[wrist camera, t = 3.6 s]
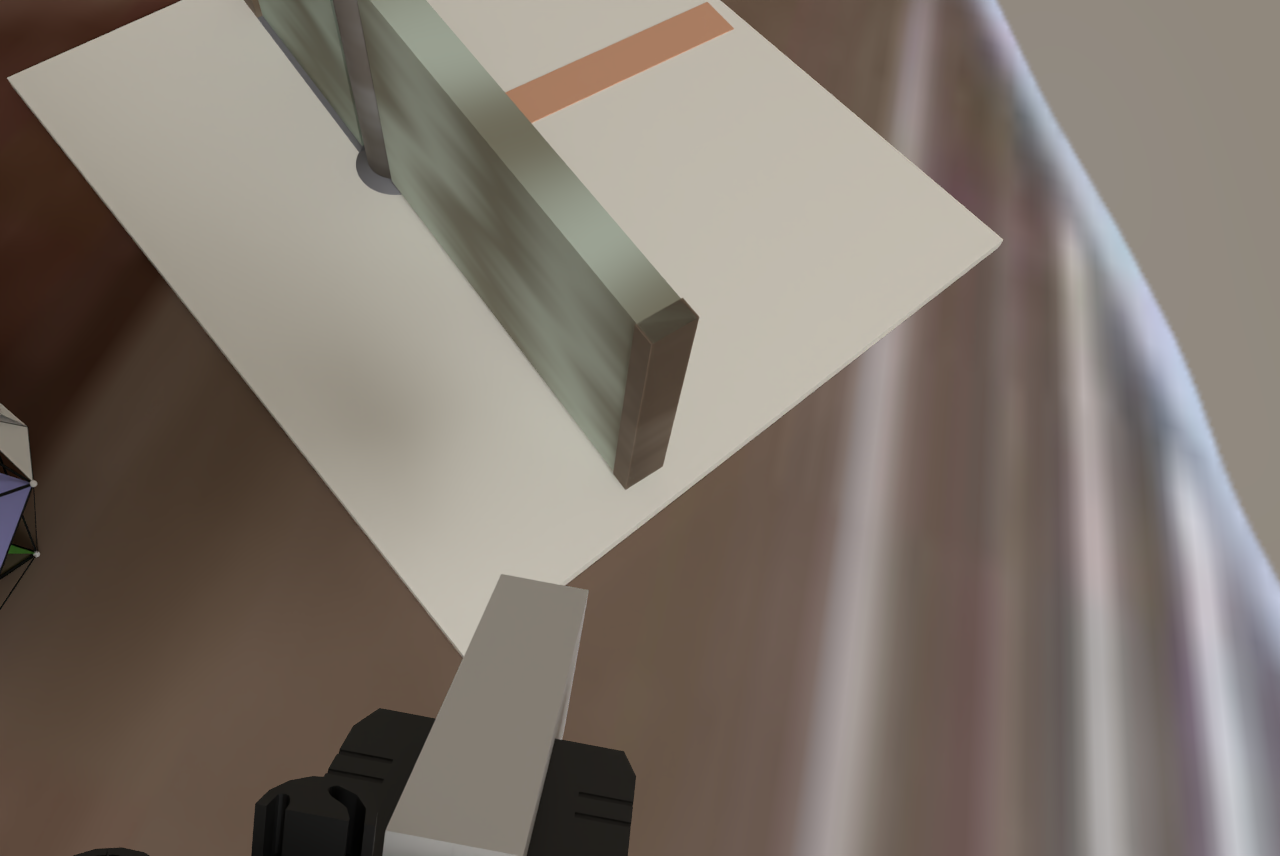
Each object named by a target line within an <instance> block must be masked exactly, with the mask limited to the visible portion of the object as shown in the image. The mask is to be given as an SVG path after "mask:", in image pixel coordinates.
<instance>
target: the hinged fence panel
mask: <svg viewBox="0 0 1280 856" xmlns="http://www.w3.org/2000/svg"><path fill="white" fill-rule="evenodd" d="M333 4H334V8H335V13H336V17H337V22H338V27H339V31H340V36H341V41H342V45H343V50H344V54H345V59H346V64H347V68H348V73H349V77H350V82H351V87H352V91H353V96H354V100H355V105H356V110H357V114H358V119H359V124H360V128H361V133H362V137H363V142H364V147H365V151H366V156H367V160H368V164H369V166H370V168H371V169H372V170H373V171H374V172H375V173H376V174H378V175H380V176H382V177H385V178H389V179H392V182H393V183H394V185H395V186H396V187H397V189H398V190H399V191H400V193H401V194H402V195H403V196H404V198H405V199H406V200H407V202H408V203H409V204H410V206H411V207H412V208H413V210H414V211H415V212H416V213H417V215H418V216H419V217H420V219H421V220H422V221H423V223H424V224H425V225H426V227H427V228H428V229H429V231H430V232H431V233H432V234H433V236H434V237H435V238H436V240H437V241H438V242H439V244H440V245H441V246H442V248H443V249H444V250H445V251H446V253H447V254H448V255H449V257H450V258H451V259H452V261H453V262H454V263H455V265H456V266H457V267H458V269H459V270H460V271H461V272H462V274H463V275H464V276H465V278H466V279H467V280H468V282H469V283H470V284H471V286H472V287H473V288H474V289H475V291H476V292H477V293H478V295H479V296H480V297H481V299H482V300H483V301H484V303H485V304H486V305H487V307H488V308H489V309H490V310H491V312H492V313H493V314H494V316H495V317H496V318H497V320H498V321H499V322H500V324H501V325H502V326H503V327H504V329H505V330H506V331H507V333H508V334H509V335H510V337H511V338H512V339H513V341H514V342H515V343H516V345H517V346H518V347H519V348H520V350H521V351H522V352H523V354H524V355H525V356H526V358H527V359H528V360H529V362H530V363H531V364H532V365H533V367H534V368H535V369H536V371H537V372H538V373H539V375H540V376H541V377H542V379H543V380H544V381H545V383H546V384H547V385H548V386H549V388H550V389H551V390H552V392H553V393H554V394H555V396H556V397H557V398H558V400H559V401H560V402H561V403H562V405H563V406H564V407H565V409H566V410H567V411H568V413H569V414H570V415H571V417H572V418H573V419H574V421H575V422H576V423H577V424H578V426H579V427H580V428H581V430H582V431H583V432H584V434H585V435H586V436H587V438H588V439H589V440H590V441H591V443H592V444H593V445H594V447H595V448H596V449H597V451H598V452H599V453H600V455H601V456H602V457H603V459H604V460H605V461H606V462H607V464H608V465H609V466H610V468H611V469H612V470H613V474H614V476H615V477H616V478H617V480H618V481H619V482H620V484H621V485H622V486H623V488H624V489H625V490H626V489H628V488H629V487H631V486H633V485H634V484H636V483H637V482H639V481H641V480H642V479H644V478H645V477H647V476H649V475H650V474H652V473H653V472H655V471H657V470H658V469H660V468H661V467H663V464H664V460H665V456H666V452H667V448H668V444H669V439H670V435H671V431H672V427H673V423H674V419H675V415H676V411H677V407H678V403H679V399H680V394H681V390H682V386H683V382H684V378H685V374H686V370H687V366H688V362H689V358H690V354H691V350H692V345H693V341H694V337H695V333H696V329H697V325H698V321H699V316H698V315H697V314H696V312H695V311H694V310H693V309H692V308H691V307H690V305H689V304H688V303H687V302H686V301H685V300H684V298H680V297H679V296H678V294H677V293H676V292H675V291H674V290H673V289H672V287H671V286H670V285H669V284H668V283H667V282H666V280H665V279H664V278H663V277H662V276H661V275H660V273H659V272H658V271H657V270H656V269H655V268H654V266H653V265H652V264H651V263H650V262H649V261H648V259H647V258H646V257H645V256H644V255H643V254H642V252H641V251H640V250H639V249H638V248H637V246H636V245H635V244H634V243H633V242H632V241H631V239H630V238H629V237H628V236H627V235H626V234H625V232H624V231H623V230H622V229H621V228H620V227H619V225H618V224H617V223H616V222H615V221H614V220H613V218H612V217H611V216H610V215H609V214H608V213H607V211H606V210H605V209H604V208H603V207H602V206H601V204H600V203H599V202H598V201H597V200H596V198H595V197H594V196H593V195H592V194H591V193H590V191H589V190H588V189H587V188H586V187H585V186H584V184H583V183H582V182H581V181H580V180H579V179H578V177H577V176H576V175H575V174H574V173H573V172H572V170H571V169H570V168H569V167H568V166H567V165H566V163H565V162H564V161H563V160H562V159H561V158H560V156H559V155H558V154H557V153H556V152H555V150H554V149H553V148H552V147H551V146H550V145H549V143H548V142H547V141H546V140H545V139H544V138H543V136H542V135H541V134H540V133H539V132H538V131H537V129H536V128H535V127H534V126H533V125H532V124H531V122H530V121H529V120H528V119H527V118H526V117H525V115H524V114H523V113H522V112H521V111H520V110H519V108H518V107H517V106H516V105H515V104H514V102H513V101H512V100H511V99H510V98H509V97H508V95H507V94H506V93H505V92H504V91H503V90H502V88H501V87H500V86H499V85H498V84H497V83H496V81H495V80H494V79H493V78H492V77H491V76H490V74H489V73H488V72H487V71H486V70H485V69H484V67H483V66H482V65H481V64H480V63H479V62H478V60H477V59H476V58H475V57H474V56H473V54H472V53H471V52H470V51H469V50H468V49H467V47H466V46H465V45H464V44H463V43H462V42H461V40H460V39H459V38H458V37H457V36H456V35H455V33H454V32H453V31H452V30H451V29H450V28H449V26H448V25H447V24H446V23H445V22H444V21H443V19H442V18H441V17H440V16H439V15H438V14H437V12H436V11H435V10H434V9H433V8H432V6H431V5H430V4H429V3H428V2H427V1H426V0H333Z"/></svg>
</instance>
